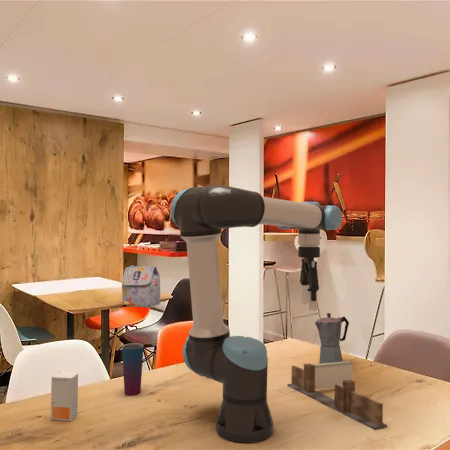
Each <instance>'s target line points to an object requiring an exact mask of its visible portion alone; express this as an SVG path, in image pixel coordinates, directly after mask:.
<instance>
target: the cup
mask: <svg viewBox="0 0 450 450" xmlns="http://www.w3.org/2000/svg"><path fill="white" fill-rule="evenodd" d="M144 347H145V346H144V344H142V343H137V342H135V343H134V342H132V343H126V344H122V345H121V353H122V370H123V372H122V373H123V388H124V389H123V390H124V391H123V392H124V395H126V396H138V395H140V394H141V391H142V387H141V386H142V375H143V374H142V373H143V359H144Z"/></svg>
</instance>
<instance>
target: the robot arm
mask: <svg viewBox="0 0 450 450" xmlns="http://www.w3.org/2000/svg"><path fill="white" fill-rule="evenodd" d="M169 211H170V218H171V220H172V222H173V224H175V226H177V228H179V234H180V239H182V240H184V241H185V243H186V252H187V262H188V263H187V264H188V275H189V277H188V278H189V289H190V290H189V291H190V299H191V301H190V302H191V313H192V325H193V326H192V327H191V328H190V329H189V330H188V336H187V338H186V339H185V343H183V348H182V358H183V360H184V361H183V362H184V363H185V366H186V367H187V368H188V369H189V370H190V371H192V372H194V373H195V374H197V376H200V377H204V378H206V379H207V378H208V379H210V380H212V381H215V382H217V383H220V384H222V401H221V404H220V407H219V410H218V414H217V416H216V420H215V432H216V433H217V435H218V436H220V437H221V438H223V439H224V440H228V441H231V442H236V443H243V444H244V443H256V442H261V441H264V440H267V439H268V438H269V437H270V438H271V436H272V435H273V434H274V419H273V417H272V412H271V410H270V407H269V404H268V400H267V399H268V364H269V360H268V359H269V358H268V351H267V347H266V345H265V343H264V342H262V341H261V340H259V339H256V338H253V337H251V336H244V335H232V336H231V334H230V327H229V326H228V325H227V324H226V323H224V313H223V312H224V309H223V301H222V300H223V299H222V290H221V289H222V287H221V277H220V276H221V275H220V274H221V273H220V263H219V261H220V260H219V250H218V239H219V238H220V237H221V235H222V233H223V231H222V230H223V229H225V230H226V229H231V228H241V227H243V228H245V227H246V228H255V227H257V226H258V225H265V226H267V225H268V226H276V227H277V229H279V230H280V229H281V230H297V231H298V232H297V233H298V234H297V239H298V240H297V245H298V248H297V250H298V251H297V252H298V253H297V255H298V258H301V267H300V268H301V269H300V278H299V279H300V280H299V283H300V303H301V304H308V311H312V312H313V311H318V291H320V285H319V277H318V275H319V274H318V262H317V261H316V260H315V258H316V259H317V258H320V256H321V248H320V245H321V240H322V236H321V230H322V231H331V230H332V231H335V230H337V229H339V227H340V226H341V225H342V221H343V214H342V211H341V208H340V207H338V206H337V205H320V202H318V201H295V200H294V201H293V200H285V199H280V198H275V197H274V198H273V197H266V196H263V195H262V194H261V193H260V192H257V191H252V190H247V189H244V188H240V187H239V188H238V187H233V186H229V185H219V184H217V185H216V184H215V185H207V186H192V187H187V188H184V189H182V190H180V191H178V193H177V194H176V195H175V196H174V197H173V199H172V202H171V204H170V209H169Z"/></svg>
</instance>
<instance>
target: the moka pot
mask: <svg viewBox="0 0 450 450" xmlns="http://www.w3.org/2000/svg"><path fill="white" fill-rule="evenodd" d="M343 322H345V325H344V332H343V336H342V335H341V332H342V323H343ZM349 323H350V321H349V320H348V319H347V318H346V317H345V316H342V317H337V318H335V317H331V313H330V312H328V313H326V317H323V318H319V319H316V321H315V322H314V325H315V326H316V329H317V330H318V337H319V339H320V347H319V350H320V351H319V360H318V361H319V362H318V364H322V363H333V362H343V356H342V351H341V350H342V349H341V346H340V342H343V341H346V337H347V334H348V333H347V332H348V328H349V326H350V325H349ZM341 336H342V338H341Z"/></svg>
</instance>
